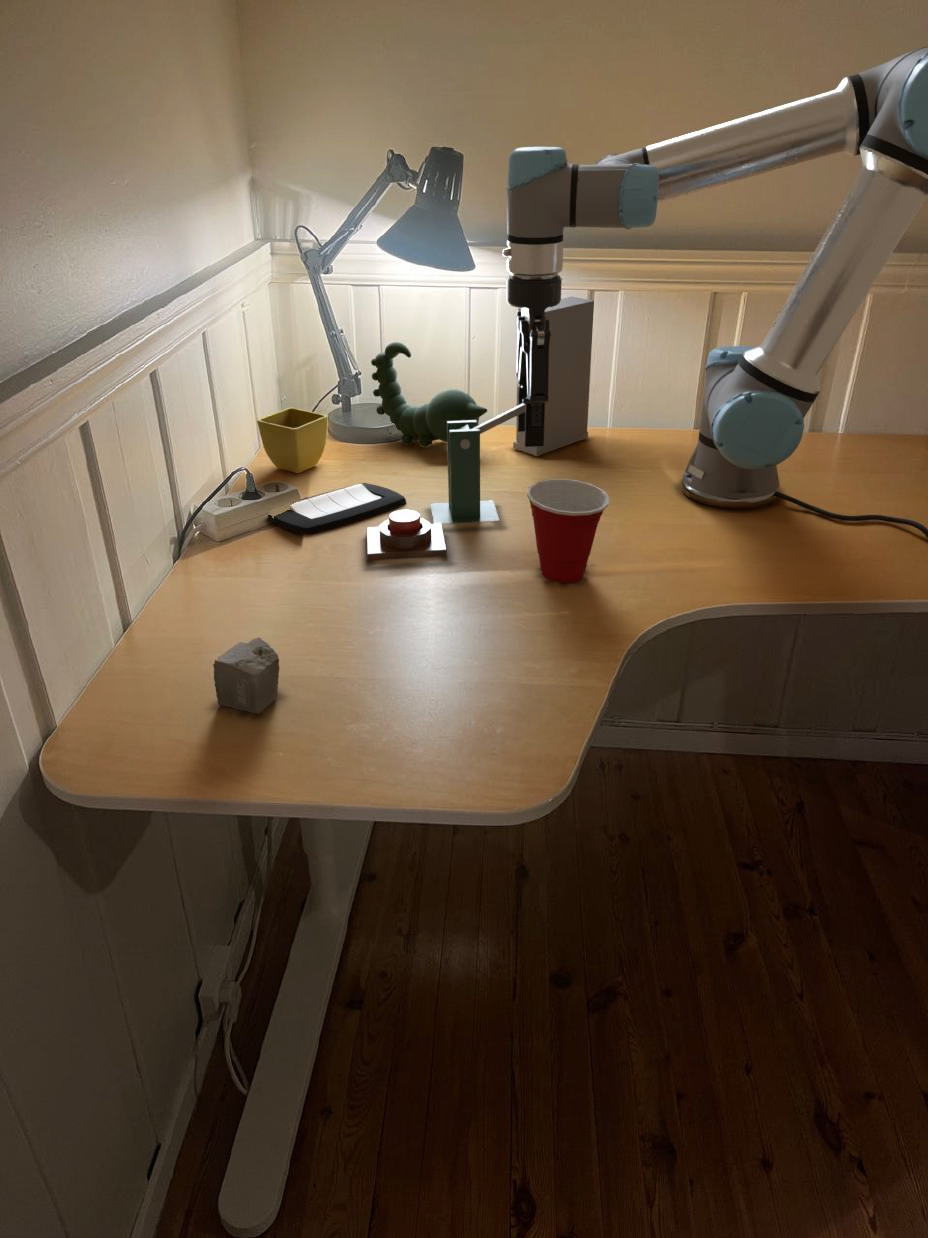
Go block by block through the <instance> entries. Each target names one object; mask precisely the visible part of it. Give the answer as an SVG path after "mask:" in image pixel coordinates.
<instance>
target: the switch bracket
mask: <svg viewBox="0 0 928 1238" xmlns="http://www.w3.org/2000/svg"><path fill="white" fill-rule="evenodd" d="M467 424H468V426H469V428H470V429H460V430H457V429H459V428H461V427H463V426H465V425H467ZM476 426H477V421H476V420H464V421H447V442H446V445H447V449H446V451H447V490H448V493H447V494H448V502H432V503H431V502H430V504H429V505H430V510H431V517H432V522H433V524H440V523H441V524H442V525H445V524H447V525H448V524H465V523H483V522H484V523H485V522H486V523H487V522H500V520H501V519H500V517H499V513H498V510H497V507H496V505H495V501H494V500H493V499H489V500H481V434H480V430H479V429H472V428H474V427H476Z"/></svg>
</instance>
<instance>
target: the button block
mask: <svg viewBox="0 0 928 1238" xmlns="http://www.w3.org/2000/svg"><path fill="white" fill-rule="evenodd" d="M420 524H421V529H420V530H419V531H418V532H415V533H411V534H397V533H392V532H391V531H390V528H389V518H388V519H385V520H384V521H382V522H381V523H380V524H379V525H378V526H369V527H368V526H367V527H366V558H367V561H368V562H369V561H385V560H386V561H387V560H405V559H425V558H441V557H444V558H445V557H447V556H448V550H447V545H446V539H445V534H444V528H443V524H441V523H440V524H434V523H431V522H430V521H428V520H427V519H426V518H424V517H420Z"/></svg>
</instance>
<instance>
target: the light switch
mask: <svg viewBox="0 0 928 1238" xmlns="http://www.w3.org/2000/svg"><path fill="white" fill-rule="evenodd" d="M300 499H301V501H299V502H296V503H294V504H292V505H290V510H287V511H285V512H283V513H281V514H278V515H276V516H274V519H273V518H272V516H271V515H268V514H267V518H269V520H270V521H271V522H272V523H274V524H275V525H277V526H279V527H281V528H282V529H283V528H284V529H286V530H289V531H291V532H295V533H299V534H301V535H306V536H307V535H313V534H316V533H320V532H324V531H328V530H332V529H335V528H339V527H343V526H345V525H350V524H353V523H356V522H360V521H362V520H365V519H368V518H372V517H375V516H378V515H380V514H383V513H386V512H388V511H392V510H395V509H396V508H397V509H398V508H400V507H402V506H405V505H406V504H407V499H406V497H405V496H404V495H403V494H400V493H399V492H397V491H394V490H392V489H390V488H387V487H385V486H380V485H377V484H373V483H367V482H362V483H361V482H360V483H356V484H353V485H349V486H345V487H341V488H339V489H333V490H330V491H327V492H322V493H318V494H316V495H313V496H309V497H308V496H307V497H303V498H300Z"/></svg>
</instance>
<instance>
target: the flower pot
mask: <svg viewBox="0 0 928 1238" xmlns="http://www.w3.org/2000/svg"><path fill="white" fill-rule="evenodd" d="M256 422H257V426H258V431H259V435H260V438H261V443H262V446H263V450H264V452H265V453H266V455H267V457H268V458H269V460H270V461H271V463H272V464H273V465H274V466H275V467H276V468H277V469H279V470H284V471H288V472H290V473H295V474H301V473H302V472H305V471H307V470H309V469H311V468H313V467H315V466H317V465H318V463H319V462H320V461H321V458H322V456H323V454H324V451H325V448H326V443H327V432H328V415H327V414H323V413H319V412H314V411H309V410H306V409H301V408H296V407H287V408H285V409H281V410H279V411H277V412H274V413H272V414H269V415H265V416H264V417H261V418H258V419H257V420H256Z"/></svg>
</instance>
